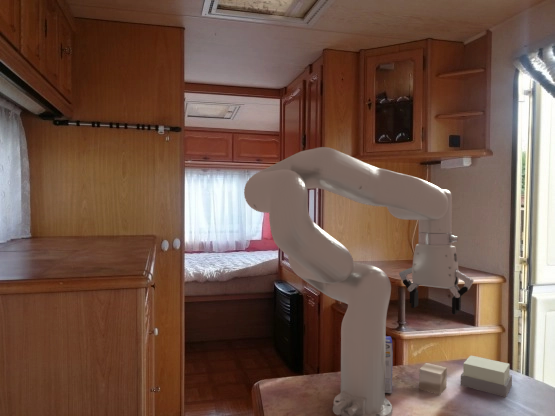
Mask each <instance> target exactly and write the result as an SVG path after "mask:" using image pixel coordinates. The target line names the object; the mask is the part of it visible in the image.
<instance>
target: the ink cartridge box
mask: <svg viewBox="0 0 555 416" xmlns="http://www.w3.org/2000/svg"><path fill="white" fill-rule="evenodd" d="M392 390H393V339H392V336H387V335H386V351H385V394H393V391H392Z"/></svg>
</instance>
